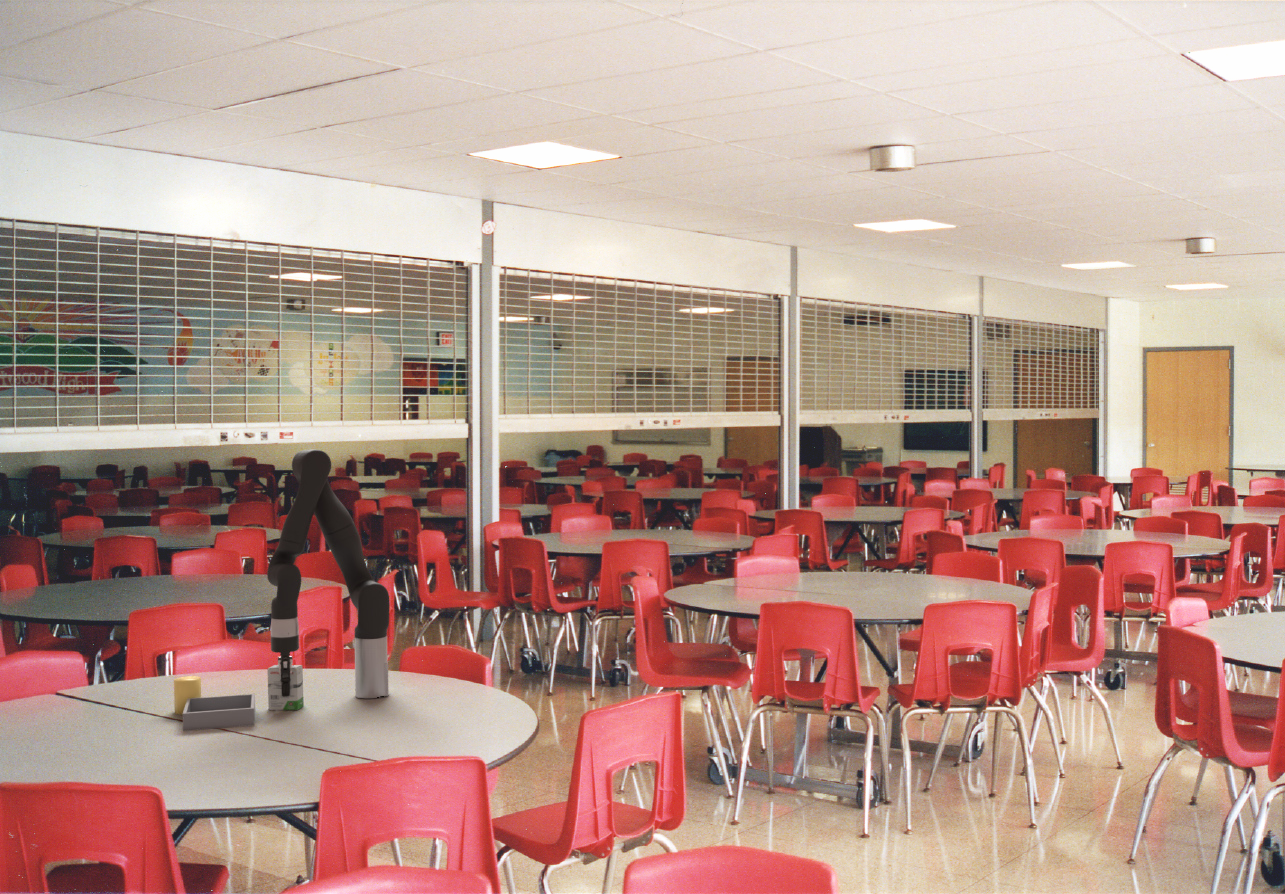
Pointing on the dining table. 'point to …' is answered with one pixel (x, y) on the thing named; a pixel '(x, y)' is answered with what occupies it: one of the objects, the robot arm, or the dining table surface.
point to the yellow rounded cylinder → (185, 691)
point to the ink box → (275, 689)
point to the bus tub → (219, 712)
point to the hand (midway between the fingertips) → (285, 693)
